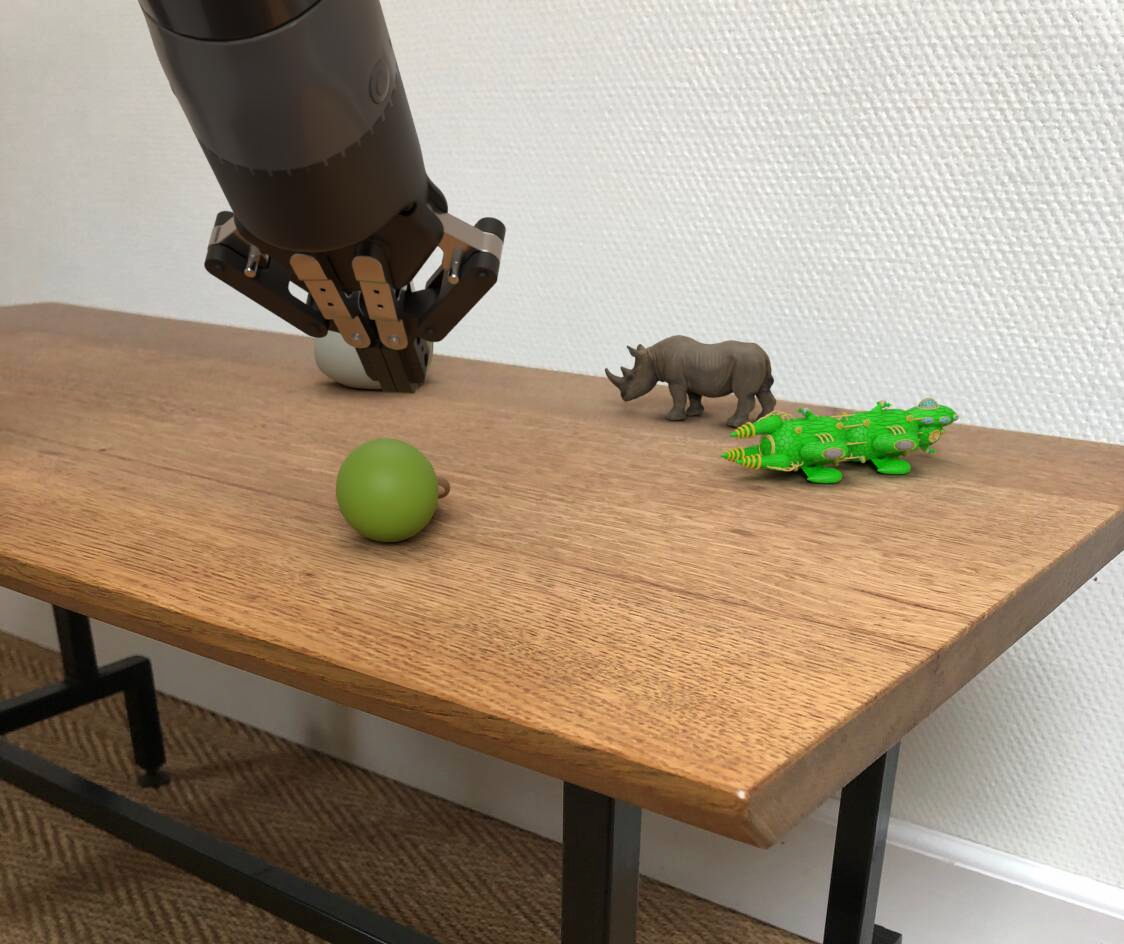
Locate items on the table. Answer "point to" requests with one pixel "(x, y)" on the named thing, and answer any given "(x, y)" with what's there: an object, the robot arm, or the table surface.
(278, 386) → the table surface
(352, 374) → the air freshener
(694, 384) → the rhino figurine
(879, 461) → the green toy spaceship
